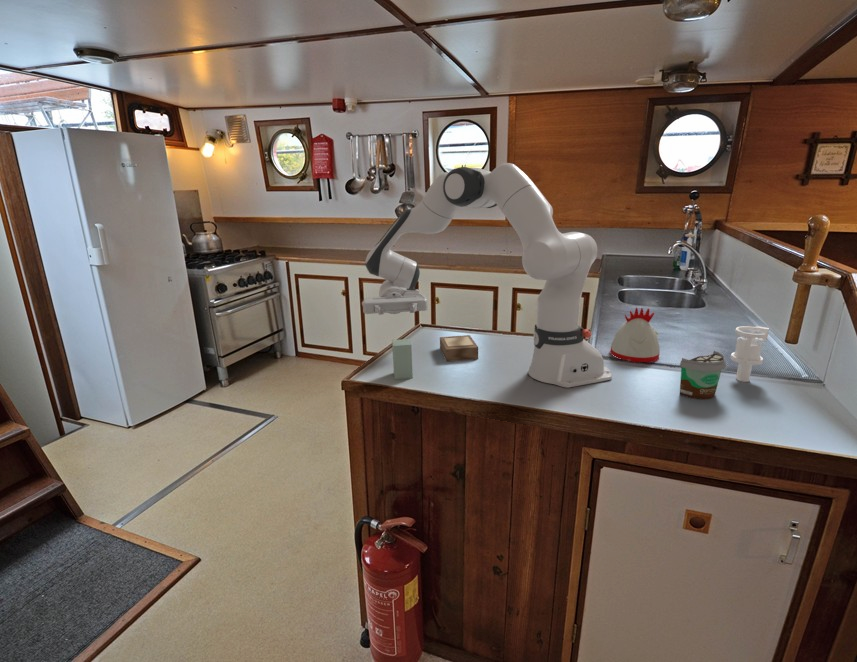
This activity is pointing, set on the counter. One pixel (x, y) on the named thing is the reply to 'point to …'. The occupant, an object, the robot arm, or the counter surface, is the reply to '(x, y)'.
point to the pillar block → (402, 359)
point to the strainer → (748, 350)
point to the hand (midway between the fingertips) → (396, 311)
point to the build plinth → (458, 348)
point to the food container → (701, 375)
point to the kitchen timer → (636, 339)
